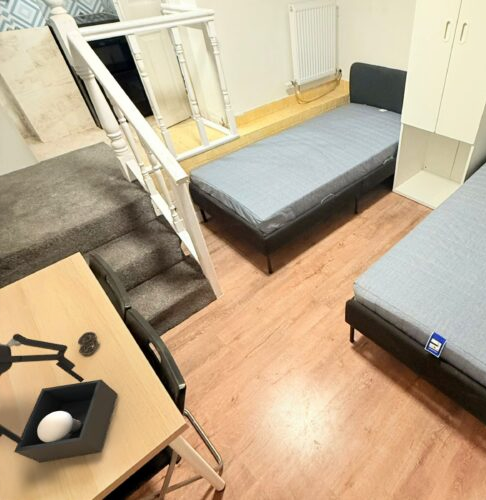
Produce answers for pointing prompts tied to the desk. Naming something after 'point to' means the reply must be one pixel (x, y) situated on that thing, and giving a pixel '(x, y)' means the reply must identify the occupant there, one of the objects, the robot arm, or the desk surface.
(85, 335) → the corroded twin loop
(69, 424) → the lightbulb
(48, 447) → the bin
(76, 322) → the desk surface
